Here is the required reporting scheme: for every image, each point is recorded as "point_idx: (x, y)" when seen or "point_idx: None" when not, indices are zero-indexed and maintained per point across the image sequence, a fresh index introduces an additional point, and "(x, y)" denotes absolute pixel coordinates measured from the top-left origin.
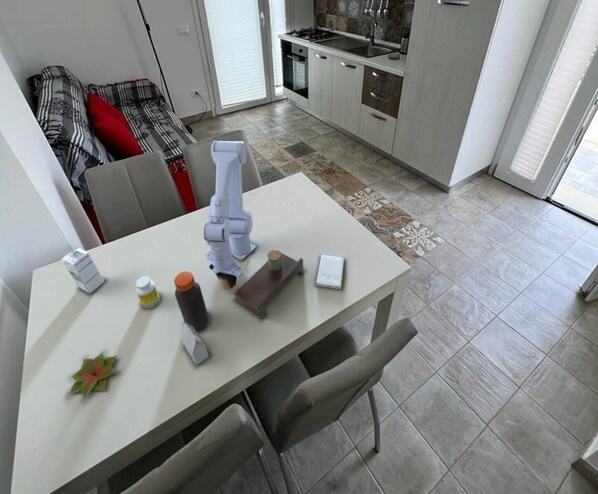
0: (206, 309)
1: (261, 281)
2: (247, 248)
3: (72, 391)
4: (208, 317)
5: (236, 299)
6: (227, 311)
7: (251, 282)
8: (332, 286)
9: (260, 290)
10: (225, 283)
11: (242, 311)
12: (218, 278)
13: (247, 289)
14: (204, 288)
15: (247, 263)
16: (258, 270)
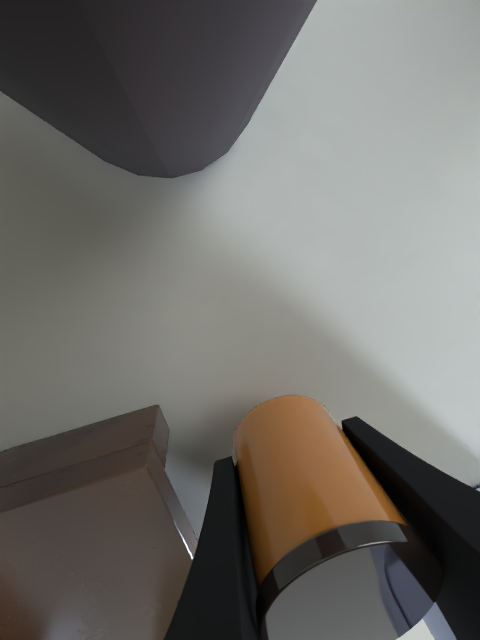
0: (100, 147)
1: (126, 630)
2: None
3: None
4: (112, 163)
5: (142, 420)
6: (103, 324)
7: (162, 584)
8: None
9: (49, 612)
10: (263, 485)
11: (41, 405)
12: (374, 432)
13: (118, 551)
14: (392, 277)
15: None
16: None
